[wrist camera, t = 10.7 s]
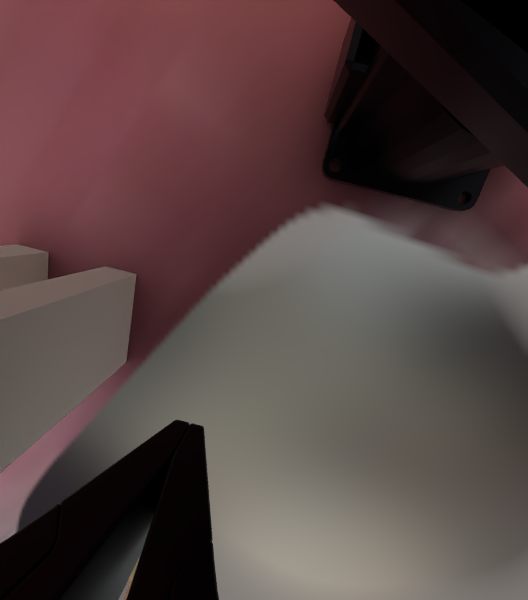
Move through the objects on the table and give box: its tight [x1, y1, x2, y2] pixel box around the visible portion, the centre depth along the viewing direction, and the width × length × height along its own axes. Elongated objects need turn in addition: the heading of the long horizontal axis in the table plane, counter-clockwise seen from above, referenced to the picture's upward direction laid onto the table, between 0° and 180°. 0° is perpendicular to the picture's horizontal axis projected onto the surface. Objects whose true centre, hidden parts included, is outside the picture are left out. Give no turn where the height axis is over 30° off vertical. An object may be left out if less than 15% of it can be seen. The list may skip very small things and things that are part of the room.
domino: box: [0, 266, 137, 473], centre depth 10 cm, size 2×5×9 cm, turn 166°
